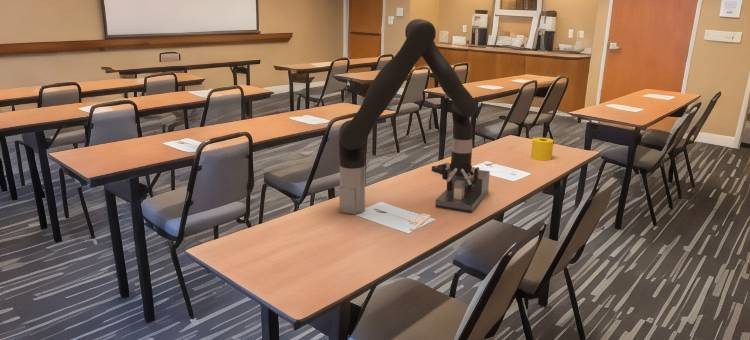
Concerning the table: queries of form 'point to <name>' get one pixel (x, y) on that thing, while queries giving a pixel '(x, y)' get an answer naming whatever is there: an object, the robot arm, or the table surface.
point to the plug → (459, 189)
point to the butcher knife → (419, 220)
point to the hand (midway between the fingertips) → (459, 191)
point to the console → (465, 194)
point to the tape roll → (542, 149)
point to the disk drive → (440, 169)
